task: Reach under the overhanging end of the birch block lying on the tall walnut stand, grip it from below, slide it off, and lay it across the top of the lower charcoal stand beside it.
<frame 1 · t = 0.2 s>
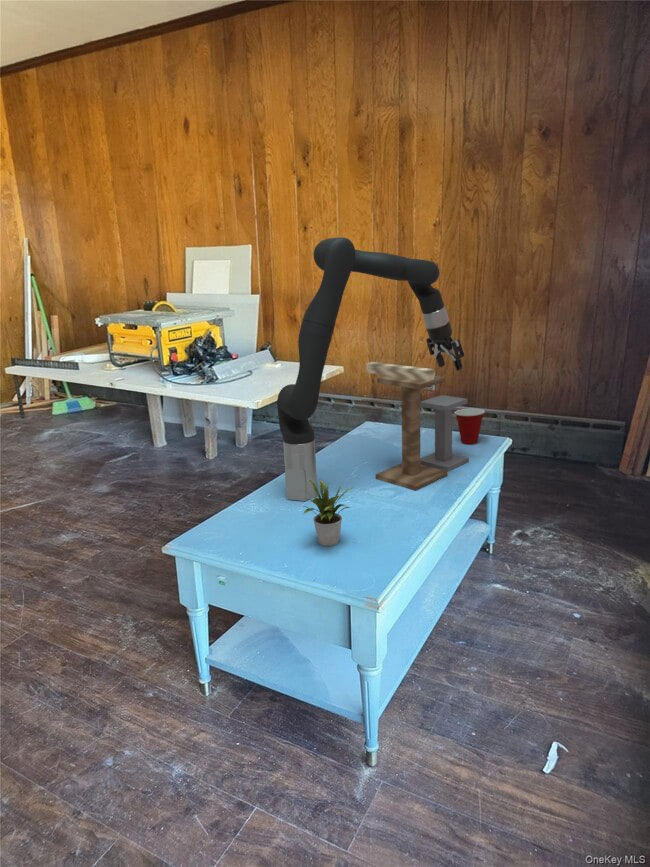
hand: (450, 367, 195), 31 cm above the table, tool tilted 20°, fingers open, 8 cm apart
charcoal stand: (443, 463, 200), on the table
birch block: (399, 375, 182), point 32 cm above the table, touching walnut stand
house plant: (323, 541, 150), on the table
walnut stand: (411, 477, 188), on the table
plastic cup: (468, 442, 220), on the table
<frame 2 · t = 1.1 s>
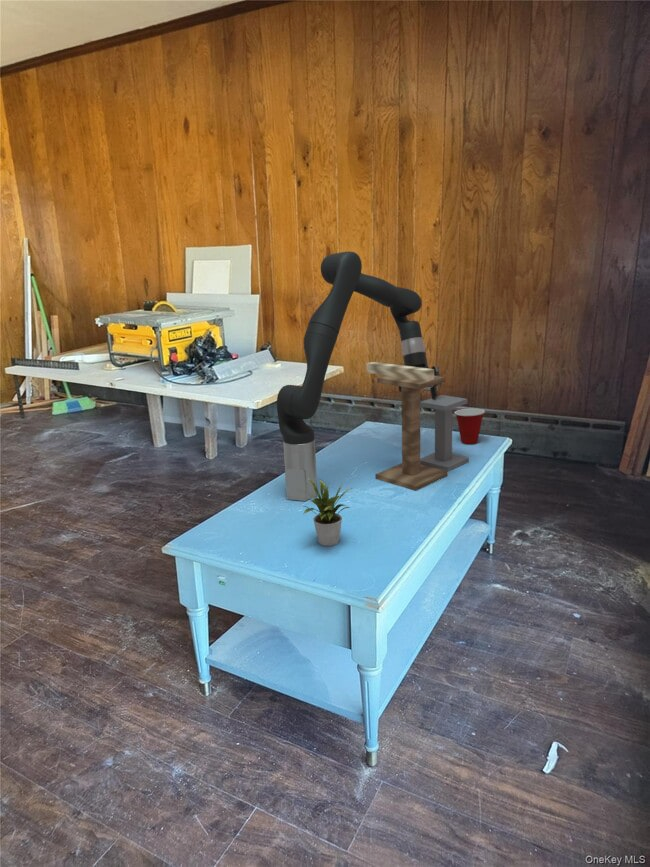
hand: (422, 401, 197), 21 cm above the table, tool tilted 20°, fingers open, 8 cm apart
nothing on the table moved.
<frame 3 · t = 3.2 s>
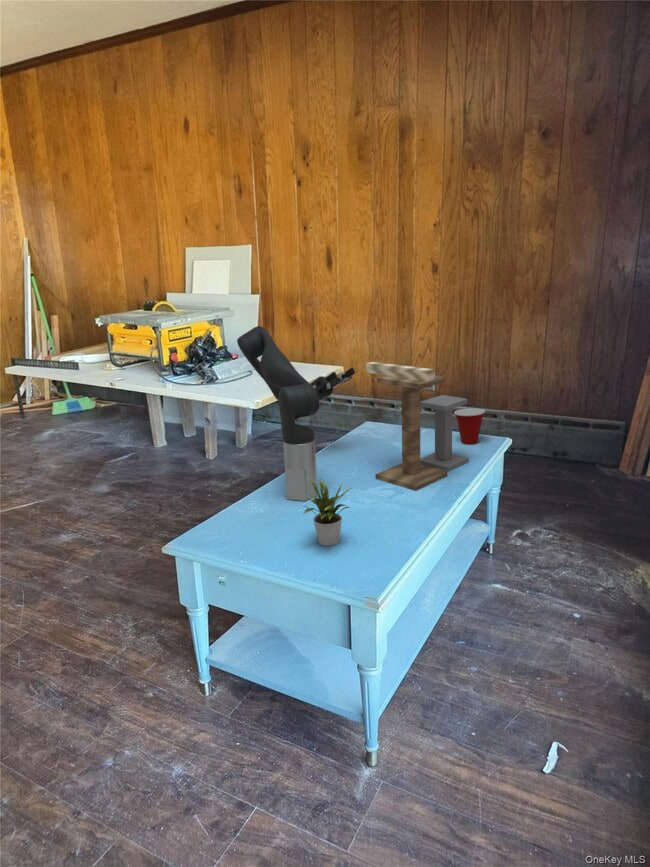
hand: (344, 372, 199), 31 cm above the table, tool pointing upward, fingers open, 8 cm apart
nothing on the table moved.
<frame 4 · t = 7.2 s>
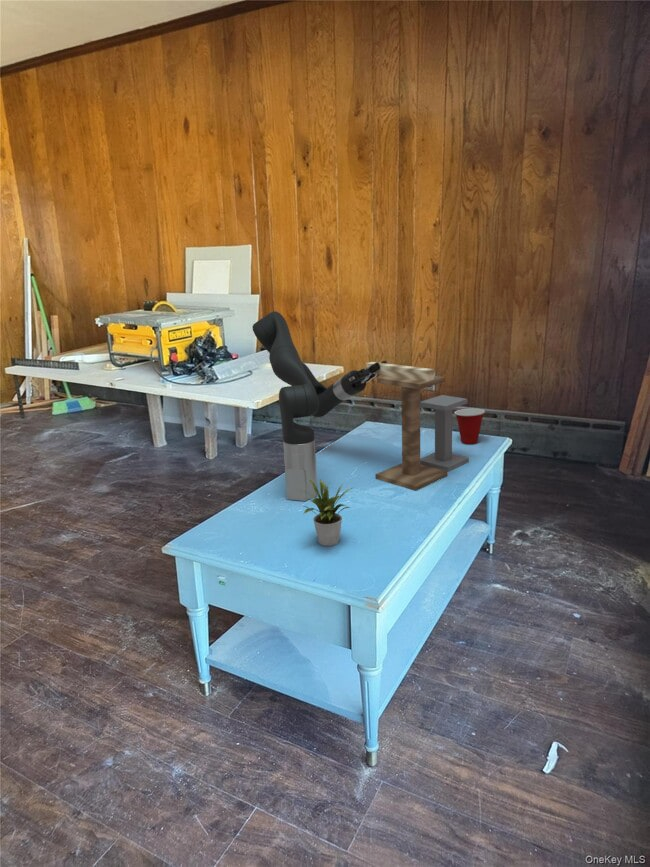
hand: (382, 364, 186), 35 cm above the table, tool pointing upward, fingers closed on birch block, 3 cm apart
birch block: (399, 375, 182), point 32 cm above the table, touching gripper, walnut stand
everything else where it was.
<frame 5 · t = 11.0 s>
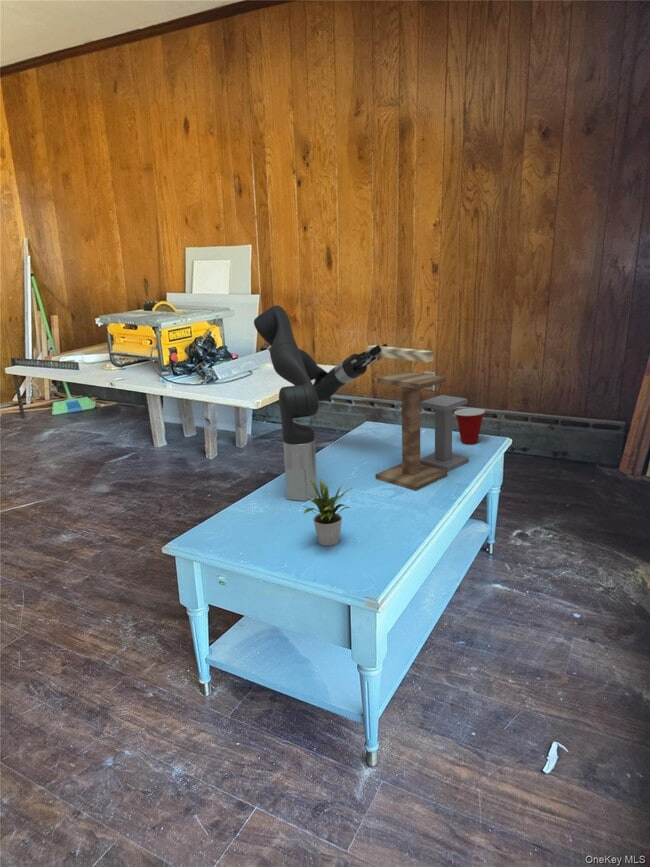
hand: (383, 347, 193), 39 cm above the table, tool pointing upward, fingers closed on birch block, 3 cm apart
birch block: (399, 358, 189), point 36 cm above the table, touching gripper
everything else where it was.
when the fingers open (26 cm above the table, at t = 14.7 s): birch block drops 2 cm, resting on charcoal stand.
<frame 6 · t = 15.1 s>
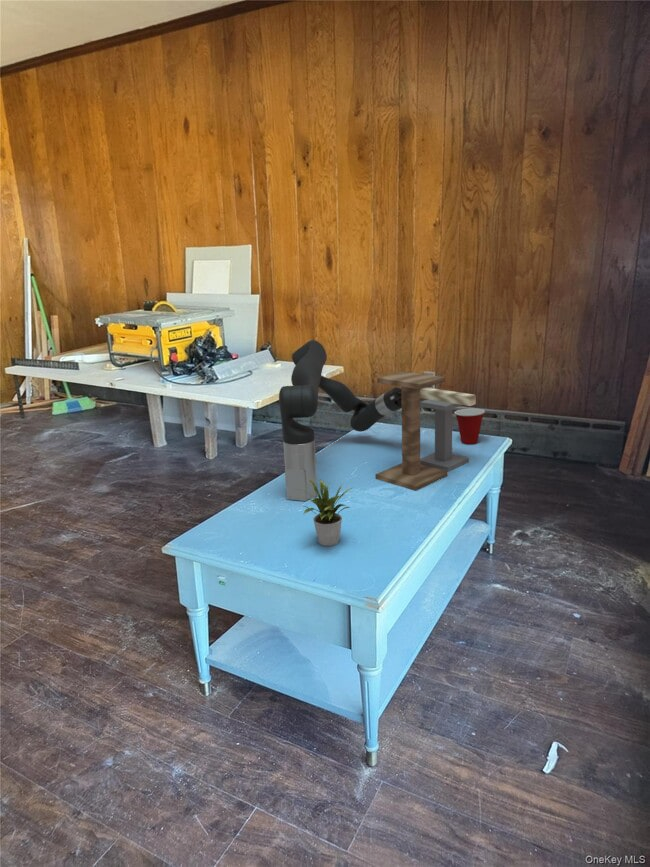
hand: (423, 383, 198), 26 cm above the table, tool pointing upward, fingers open, 6 cm apart
birch block: (440, 399, 194), point 21 cm above the table, touching charcoal stand
everything else where it was.
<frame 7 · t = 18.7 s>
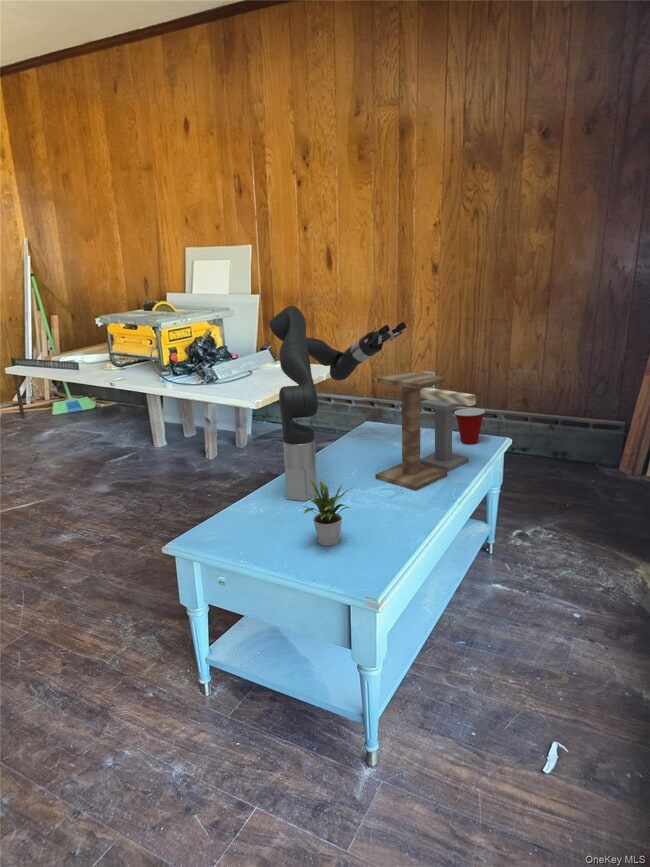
hand: (396, 325, 200), 44 cm above the table, tool pointing upward, fingers open, 8 cm apart
nothing on the table moved.
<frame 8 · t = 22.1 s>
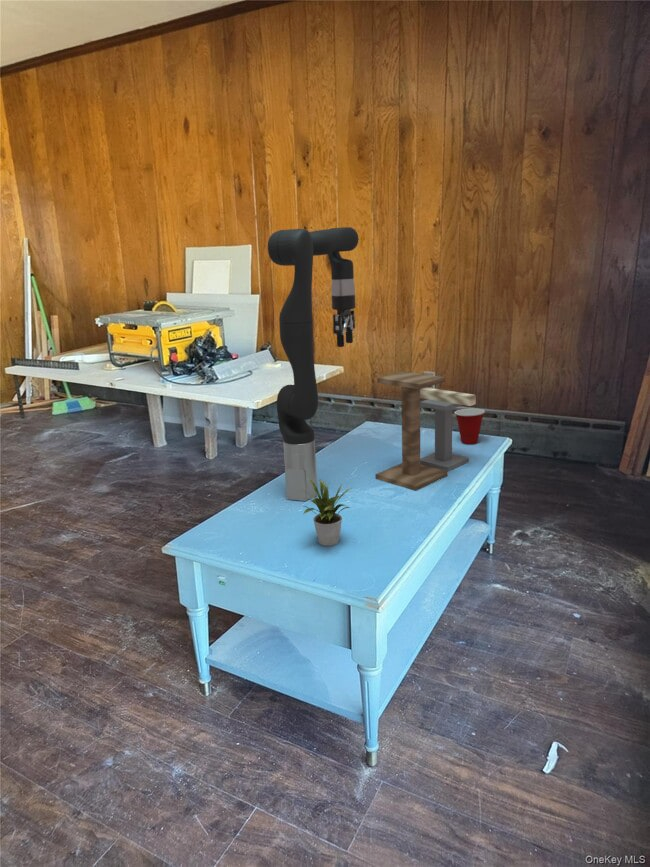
hand: (345, 344, 194), 40 cm above the table, tool pointing down, fingers open, 8 cm apart
nothing on the table moved.
at the end: birch block inside the target area on the charcoal stand (1.1 cm from its centre), point 21.5 cm above the charcoal stand's base; birch block tilted 0°; the gripper is holding nothing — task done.
